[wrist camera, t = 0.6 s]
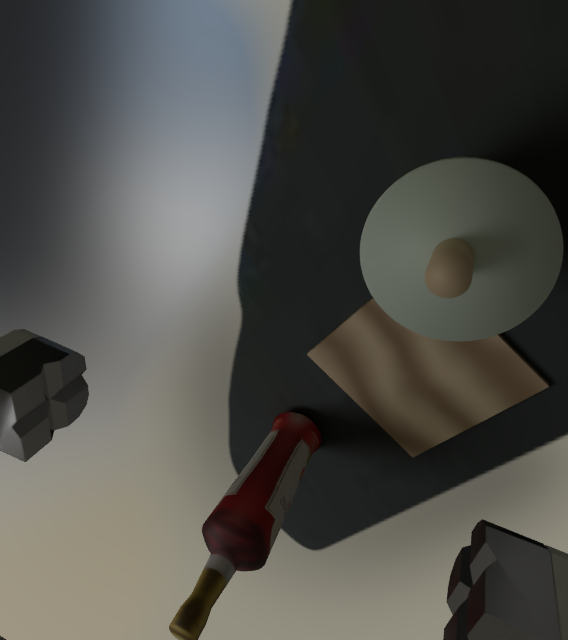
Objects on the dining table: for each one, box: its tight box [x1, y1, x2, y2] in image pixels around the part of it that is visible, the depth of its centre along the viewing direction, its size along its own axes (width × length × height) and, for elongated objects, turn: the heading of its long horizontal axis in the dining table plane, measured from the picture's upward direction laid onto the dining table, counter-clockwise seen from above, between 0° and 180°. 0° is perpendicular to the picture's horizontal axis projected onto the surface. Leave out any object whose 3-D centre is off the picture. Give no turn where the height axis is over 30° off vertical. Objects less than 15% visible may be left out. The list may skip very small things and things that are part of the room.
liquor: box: [169, 412, 321, 640], centre depth 51 cm, size 7×7×28 cm
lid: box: [360, 157, 563, 342], centre depth 33 cm, size 14×14×5 cm
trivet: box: [307, 298, 549, 457], centre depth 51 cm, size 18×18×1 cm
